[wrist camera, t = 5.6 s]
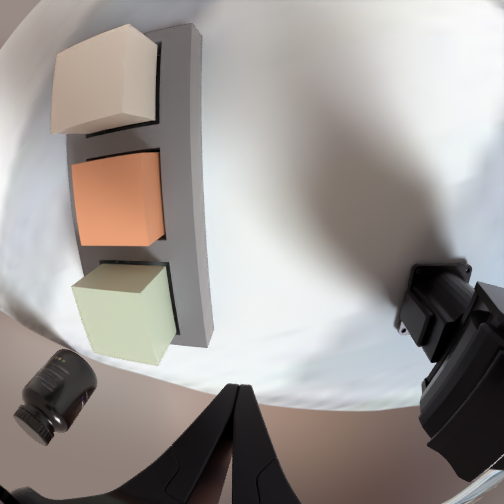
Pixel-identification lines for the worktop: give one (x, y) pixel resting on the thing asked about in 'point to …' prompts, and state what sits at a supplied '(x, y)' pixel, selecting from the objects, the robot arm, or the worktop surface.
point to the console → (166, 183)
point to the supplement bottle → (55, 396)
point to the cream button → (104, 83)
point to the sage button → (127, 311)
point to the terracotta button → (119, 200)
